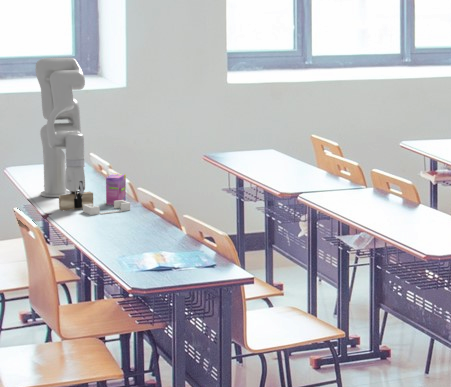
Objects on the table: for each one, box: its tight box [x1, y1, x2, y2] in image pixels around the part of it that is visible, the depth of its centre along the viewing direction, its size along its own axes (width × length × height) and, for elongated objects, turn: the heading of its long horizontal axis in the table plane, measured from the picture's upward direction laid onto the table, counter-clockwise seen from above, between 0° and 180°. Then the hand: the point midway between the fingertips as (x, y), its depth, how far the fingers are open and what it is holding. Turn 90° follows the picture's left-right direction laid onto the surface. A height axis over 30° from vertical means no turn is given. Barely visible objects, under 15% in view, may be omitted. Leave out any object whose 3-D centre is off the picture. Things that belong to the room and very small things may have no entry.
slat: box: [58, 191, 94, 211], centre depth 420 cm, size 3×14×6 cm, turn 123°
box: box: [105, 172, 127, 206], centre depth 431 cm, size 10×6×12 cm, turn 168°
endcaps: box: [82, 200, 131, 216], centre depth 415 cm, size 8×18×3 cm, turn 123°
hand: (76, 206), depth 421 cm, fingers closed on slat, 2 cm apart
